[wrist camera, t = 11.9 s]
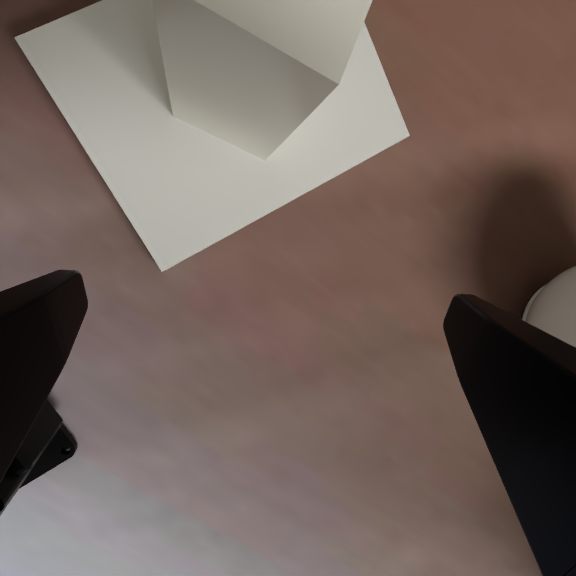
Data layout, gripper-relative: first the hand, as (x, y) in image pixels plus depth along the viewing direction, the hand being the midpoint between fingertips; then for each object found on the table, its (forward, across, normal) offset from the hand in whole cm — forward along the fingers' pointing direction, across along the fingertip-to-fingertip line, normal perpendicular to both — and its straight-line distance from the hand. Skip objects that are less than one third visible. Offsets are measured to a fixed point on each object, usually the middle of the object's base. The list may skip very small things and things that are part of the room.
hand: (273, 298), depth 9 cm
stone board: (+15, +2, -3) cm, 15 cm away
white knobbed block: (+14, +2, -3) cm, 14 cm away
